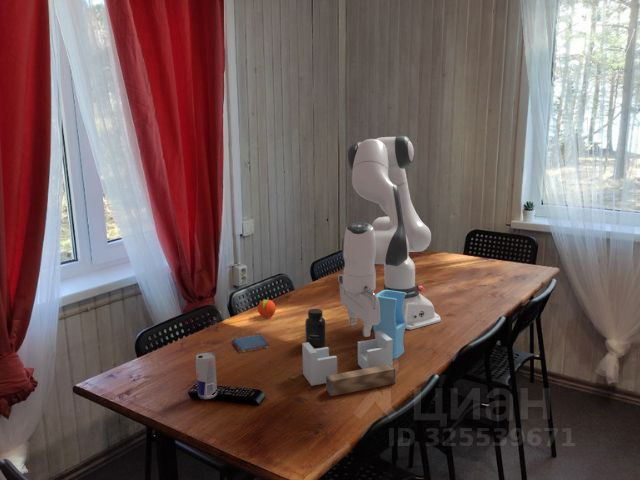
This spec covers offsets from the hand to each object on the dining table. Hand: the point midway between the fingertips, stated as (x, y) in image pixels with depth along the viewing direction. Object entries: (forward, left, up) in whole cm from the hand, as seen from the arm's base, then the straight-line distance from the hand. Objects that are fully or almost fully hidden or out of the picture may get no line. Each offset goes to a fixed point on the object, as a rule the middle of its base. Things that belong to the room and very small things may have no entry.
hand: (359, 329), depth 159 cm
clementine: (+11, -66, -18) cm, 69 cm away
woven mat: (+23, -42, -18) cm, 51 cm away
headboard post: (-8, -10, -17) cm, 22 cm away
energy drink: (+42, -12, -18) cm, 47 cm away
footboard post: (+8, -10, -17) cm, 22 cm away
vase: (-18, -18, -18) cm, 31 cm away
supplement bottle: (+2, -34, -18) cm, 38 cm away
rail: (0, 0, -18) cm, 18 cm away
